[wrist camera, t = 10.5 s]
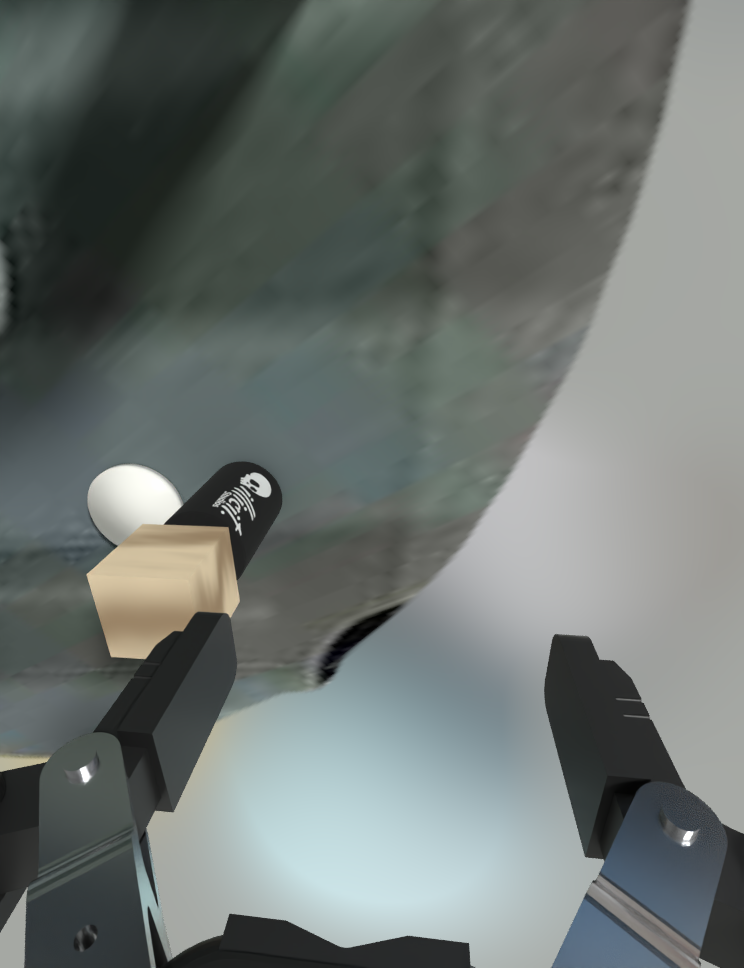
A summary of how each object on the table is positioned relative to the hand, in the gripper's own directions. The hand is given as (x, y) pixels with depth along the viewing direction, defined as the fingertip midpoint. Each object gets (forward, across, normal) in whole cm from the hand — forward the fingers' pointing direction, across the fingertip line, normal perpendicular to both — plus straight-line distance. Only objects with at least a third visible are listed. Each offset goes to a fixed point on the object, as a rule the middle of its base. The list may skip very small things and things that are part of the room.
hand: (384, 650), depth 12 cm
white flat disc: (+30, +26, +12) cm, 41 cm away
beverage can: (+30, +15, +10) cm, 35 cm away
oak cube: (+18, +15, +10) cm, 25 cm away
